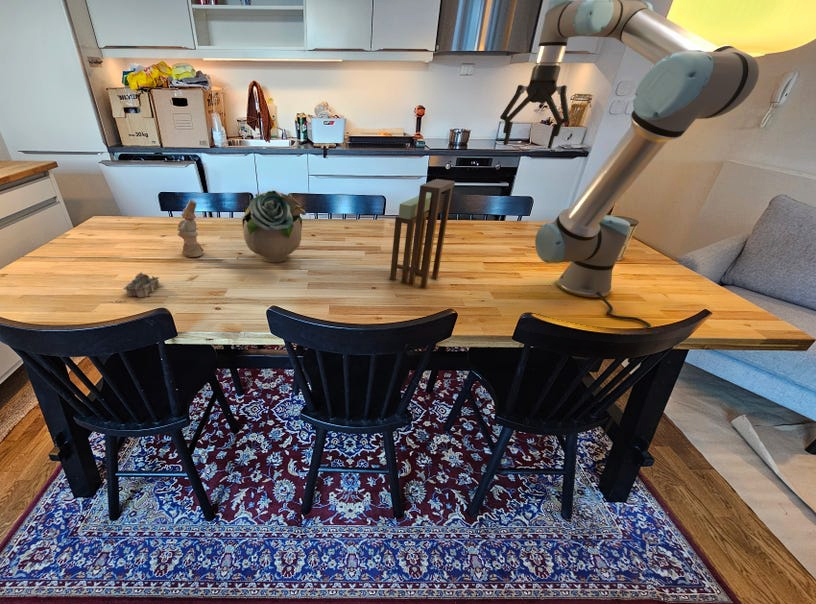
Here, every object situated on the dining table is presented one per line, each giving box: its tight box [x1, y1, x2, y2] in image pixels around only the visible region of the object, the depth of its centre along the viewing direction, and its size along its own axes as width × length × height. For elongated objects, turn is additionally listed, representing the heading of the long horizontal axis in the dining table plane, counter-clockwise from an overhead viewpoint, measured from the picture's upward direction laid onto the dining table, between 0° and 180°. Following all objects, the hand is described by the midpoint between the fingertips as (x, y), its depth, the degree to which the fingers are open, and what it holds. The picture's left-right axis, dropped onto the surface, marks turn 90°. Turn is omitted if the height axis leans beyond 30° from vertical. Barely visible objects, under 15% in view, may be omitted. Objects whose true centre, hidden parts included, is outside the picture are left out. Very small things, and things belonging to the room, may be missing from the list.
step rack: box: [389, 178, 456, 289], centre depth 128 cm, size 12×13×31 cm
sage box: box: [398, 192, 431, 219], centre depth 128 cm, size 20×4×4 cm, turn 145°
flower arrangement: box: [241, 189, 307, 263], centre depth 144 cm, size 25×25×24 cm
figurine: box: [177, 199, 204, 258], centre depth 148 cm, size 9×8×20 cm
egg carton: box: [122, 271, 161, 298], centre depth 126 cm, size 11×8×4 cm
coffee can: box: [612, 215, 640, 261], centre depth 152 cm, size 10×10×14 cm
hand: (526, 146), depth 128 cm, fingers open, 13 cm apart
